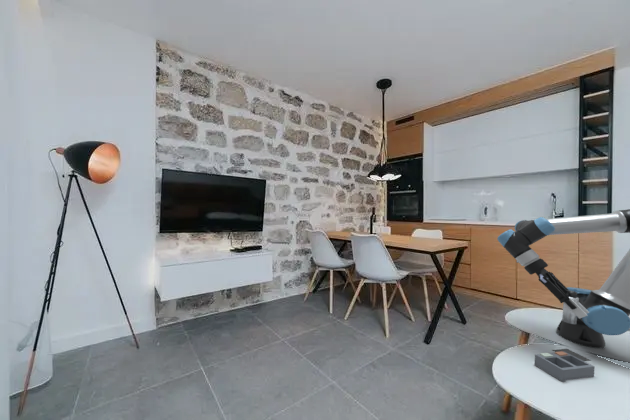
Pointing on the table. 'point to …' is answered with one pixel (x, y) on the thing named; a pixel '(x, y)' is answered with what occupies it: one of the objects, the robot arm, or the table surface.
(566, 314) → the plug
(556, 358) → the socket block
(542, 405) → the table surface
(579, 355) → the plug mat
